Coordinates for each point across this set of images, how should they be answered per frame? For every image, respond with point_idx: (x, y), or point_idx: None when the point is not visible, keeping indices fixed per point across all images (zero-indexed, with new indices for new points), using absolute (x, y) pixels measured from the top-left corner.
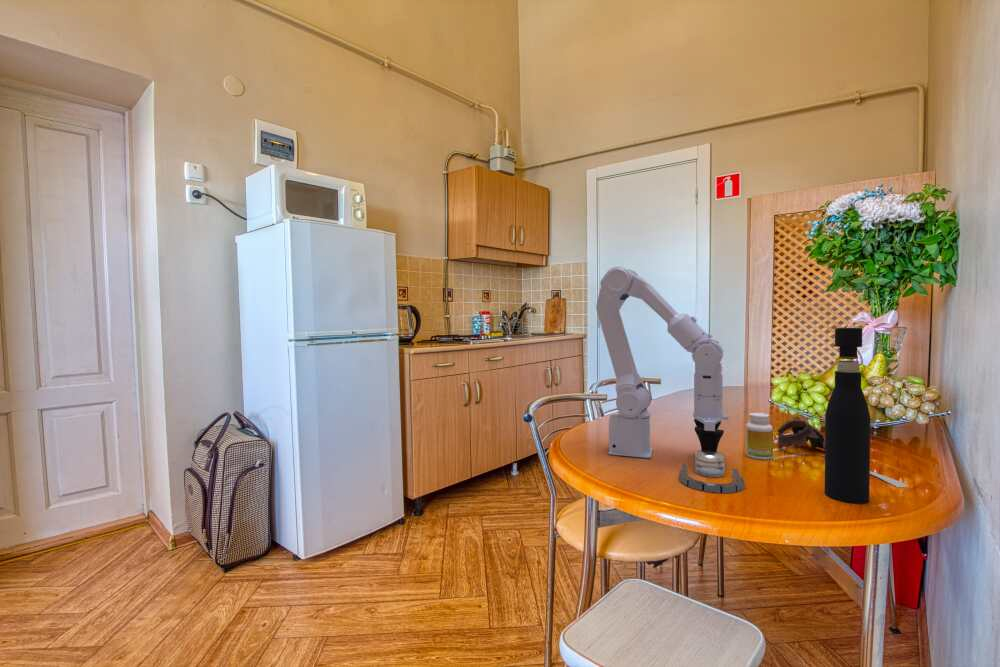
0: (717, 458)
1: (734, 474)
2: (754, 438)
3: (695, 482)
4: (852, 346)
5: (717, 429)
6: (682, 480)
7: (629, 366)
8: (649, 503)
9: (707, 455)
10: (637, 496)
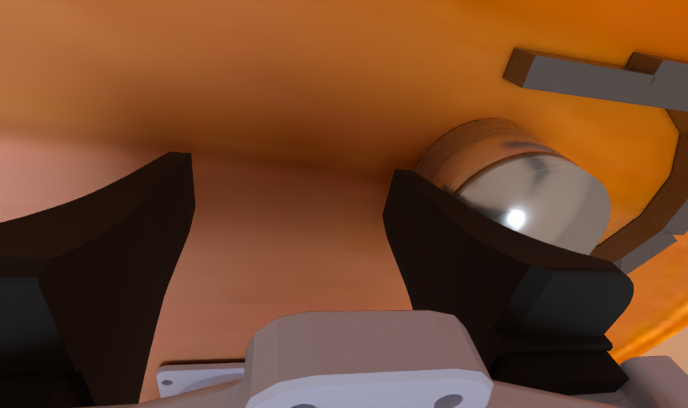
0: (606, 211)
1: (614, 97)
2: None
3: (648, 257)
4: None
5: (115, 228)
6: None
7: None
8: (677, 329)
9: None
10: (628, 350)
